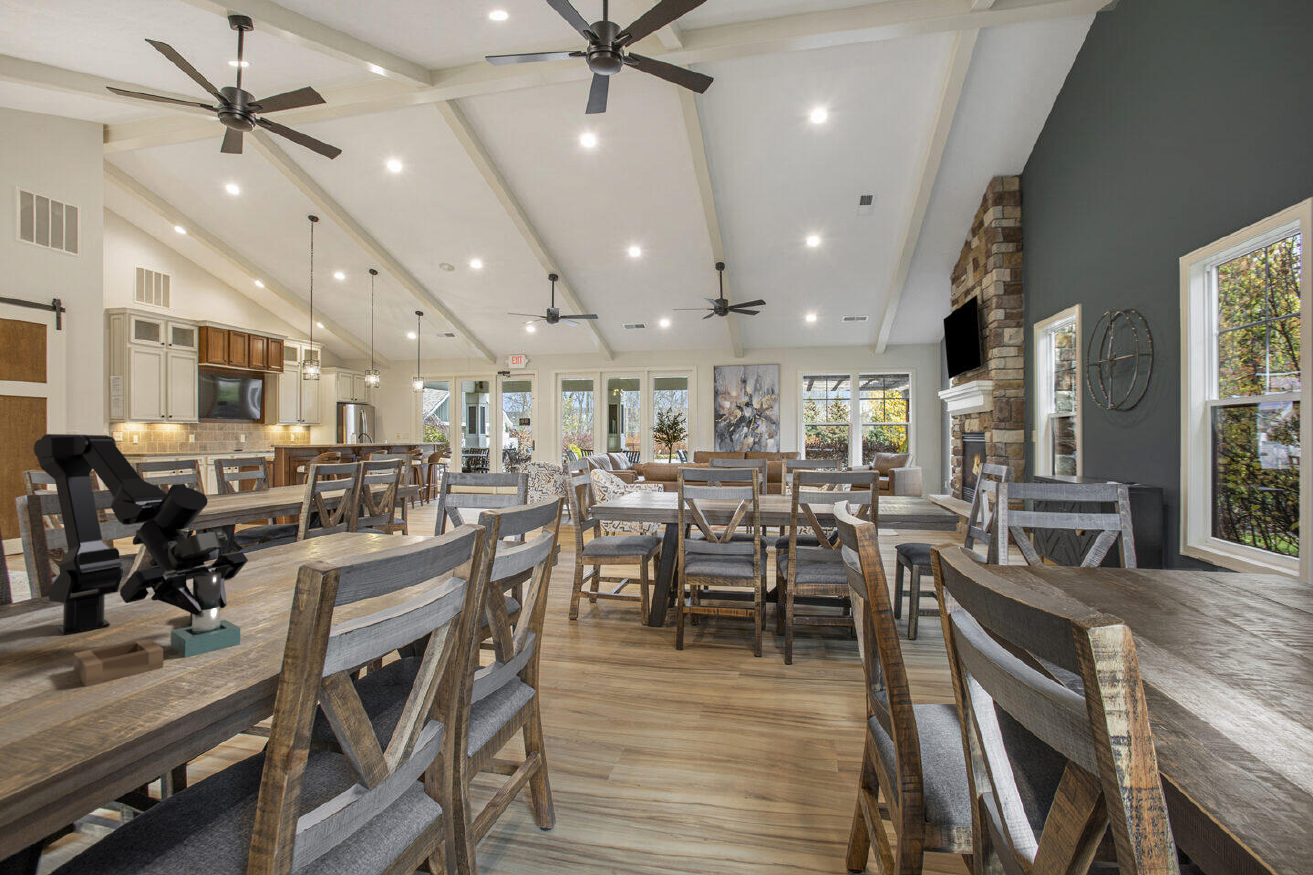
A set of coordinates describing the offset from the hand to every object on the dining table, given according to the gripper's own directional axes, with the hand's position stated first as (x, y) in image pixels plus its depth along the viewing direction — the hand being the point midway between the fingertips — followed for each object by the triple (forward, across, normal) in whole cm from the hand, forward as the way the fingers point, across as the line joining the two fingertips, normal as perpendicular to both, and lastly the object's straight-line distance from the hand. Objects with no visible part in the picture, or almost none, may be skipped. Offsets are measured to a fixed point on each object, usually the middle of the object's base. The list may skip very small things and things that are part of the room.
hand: (212, 610), depth 102 cm
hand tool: (-5, +7, +15) cm, 17 cm away
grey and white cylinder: (+4, 0, +6) cm, 7 cm away
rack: (+2, -12, +7) cm, 14 cm away
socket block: (+4, 0, +6) cm, 7 cm away
